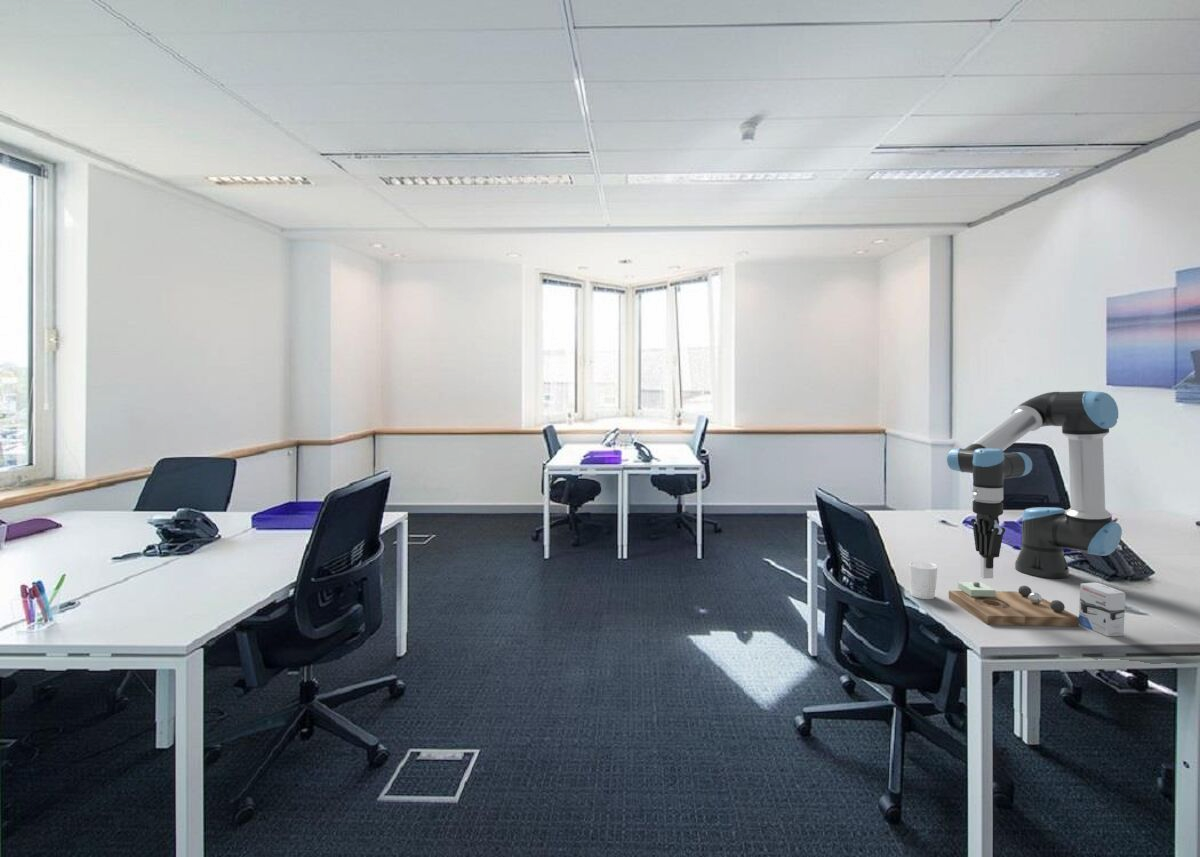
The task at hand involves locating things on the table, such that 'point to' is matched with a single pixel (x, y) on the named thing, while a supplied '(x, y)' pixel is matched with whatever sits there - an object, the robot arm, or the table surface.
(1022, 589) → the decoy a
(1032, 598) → the steel ball
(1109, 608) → the ink box
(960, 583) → the mint green square lid
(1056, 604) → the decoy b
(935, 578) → the white cup
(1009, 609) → the wooden cutting board
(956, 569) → the table surface
